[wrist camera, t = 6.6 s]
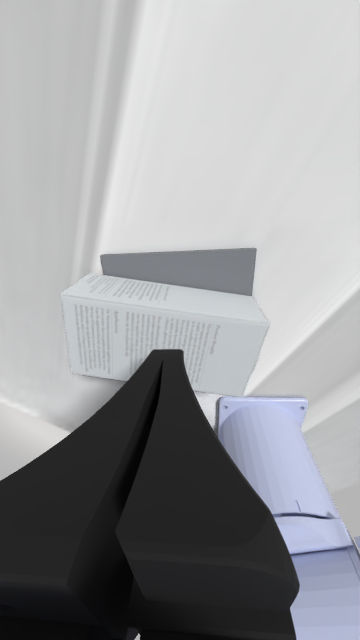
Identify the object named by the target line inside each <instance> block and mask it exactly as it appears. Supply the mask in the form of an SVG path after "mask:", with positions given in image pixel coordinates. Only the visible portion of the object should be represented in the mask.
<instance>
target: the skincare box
mask: <svg viewBox="0 0 360 640" xmlns="http://www.w3.org/2000/svg"><path fill="white" fill-rule="evenodd" d="M60 298H61V305H62V312H63V320H64V327H65V334H66V341H67V349H68V357H69V364H70V371H71V373H73V374H79V375H87V376H93V377H100V378H107V379H114V380H122V381H128V380H129V379H130V378H131V376H132V375H133V374H134V373H135V372H136V370H137V369H138V368H139V367H140V366H141V364H142V363H143V362H144V360H145V359H146V358H147V357H148V355H149V354H150V353H151V351H152V350H153V349H181V350H183V351H184V364H185V368H186V372H187V375H188V378H189V381H190V384H191V386H192V389H193V391H199V392H206V393H213V394H220V395H227V396H233V397H243V394H244V391H245V389H246V386H247V383H248V381H249V378H250V376H251V374H252V372H253V371H254V369H255V366H256V364H257V361H258V359H259V355H260V350H261V347H262V345H263V342H264V339H265V337H266V334H267V332H268V329H269V326H270V322H269V320H268V319H267V318H266V316H265V314H264V313H263V311H262V310H261V308H260V306H259V304H258V303H257V301H256V299H255V298H254V297H252V296H246V295H239V294H232V293H225V292H218V291H212V290H204V289H197V288H190V287H183V286H176V285H169V284H162V283H155V282H148V281H141V280H134V279H127V278H120V277H114V276H107V275H100V274H93V273H91V274H87V275H86V276H85V277H83V278H82V279H81V280H79V281H78V282H76V283H75V284H73V285H72V286H71V287H69V288H67V289H66V290H65V291H63V292H62V293H61V294H60Z"/></svg>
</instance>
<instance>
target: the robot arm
mask: <svg viewBox="0 0 360 640" xmlns="http://www.w3.org/2000/svg"><path fill="white" fill-rule="evenodd" d="M307 407H308V401H307V400H306V399H305V398H276V397H223V398H221V399H220V401H219V425H218V437H217V436H216V434H215V433H214V431H213V429H212V427H211V426H210V424H209V422H208V420H207V418H206V417H205V415H204V413H203V411H202V409H201V407H200V405H199V403H198V401H197V398H196V396H195V394H194V391H193V389H192V386H191V384H190V381H189V378H188V375H187V372H186V368H185V364H184V351H183V350H181V349H153V350H152V351H151V353H150V354H149V355H148V357H147V358H146V359H145V360H144V362H143V363H142V364H141V366H140V367H139V368H138V369H137V370H136V372H135V373H134V374H133V375H132V376H131V378H130V379H129V380H128V381H127V382H126V383H125V384H124V385H123V386H122V388H121V389H120V390H119V391H118V392H117V393H116V394H115V395H114V396H113V397H112V398H111V399H110V400H109V401H108V402H107V403H106V404H105V405H104V406H103V407H102V408H101V409H100V410H98V411H97V412H96V413H95V414H94V415H93V416H92V417H91V418H89V419H88V420H87V421H86V422H85V423H83V424H82V425H81V426H80V427H78V428H77V429H76V430H74V431H73V432H72V433H71V434H69V435H68V436H67V437H66V438H64V439H63V440H62V441H60V442H59V443H58V444H56V445H55V446H53V447H52V448H50V449H49V450H48V451H46V452H45V453H43V454H42V455H40V456H39V457H37V458H36V459H34V460H33V461H31V462H30V463H29V464H27V465H25V466H24V467H22V468H21V469H19V470H18V471H16V472H14V473H13V474H11V475H9V476H8V477H6V478H5V479H3V480H1V481H0V640H134V639H135V638H136V636H137V635H138V633H139V634H140V640H360V554H359V551H358V549H357V547H356V545H355V543H354V541H353V539H352V538H351V536H350V534H349V532H348V530H347V529H346V526H345V524H344V522H343V521H342V519H341V517H340V515H339V513H338V510H337V508H336V506H335V504H334V502H333V499H332V497H331V495H330V493H329V491H328V488H327V486H326V484H325V482H324V480H323V477H322V475H321V473H320V471H319V469H318V466H317V464H316V462H315V460H314V458H313V455H312V453H311V451H310V449H309V447H308V444H307V442H306V440H305V438H304V436H303V433H302V431H301V427H302V424H303V420H304V417H305V414H306V410H307ZM354 539H355V541H356V543H357V546H358V548H359V550H360V536H358V537H354Z"/></svg>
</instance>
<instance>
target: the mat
mask: <svg viewBox="0 0 360 640" xmlns="http://www.w3.org/2000/svg"><path fill="white" fill-rule="evenodd" d="M256 250H257V249H256V248H241V249H219V250H196V251H173V252H150V253H127V254H104V255H101V256H100V258H101V262H102V267H103V271H104V275H107V276H114V277H120V278H127V279H134V280H141V281H148V282H155V283H162V284H169V285H176V286H183V287H190V288H197V289H204V290H212V291H218V292H225V293H232V294H239V295H246V296H252V289H253V279H254V270H255V260H256Z"/></svg>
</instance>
